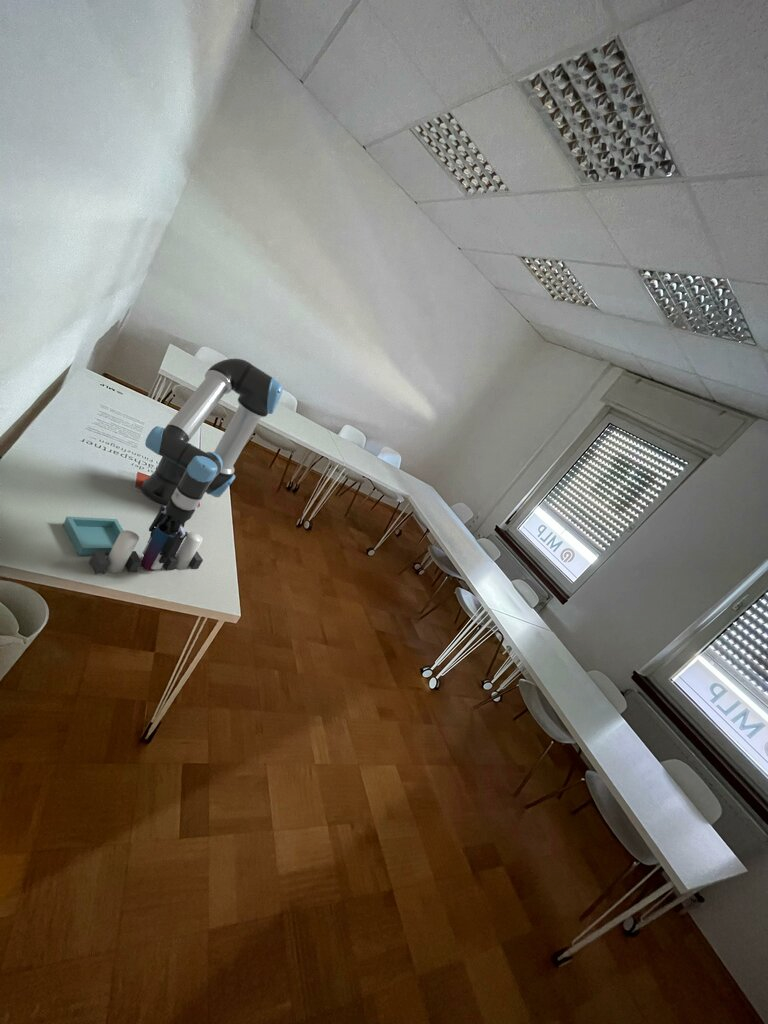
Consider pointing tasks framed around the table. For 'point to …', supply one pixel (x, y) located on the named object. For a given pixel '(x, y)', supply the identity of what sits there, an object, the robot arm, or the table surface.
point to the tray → (92, 534)
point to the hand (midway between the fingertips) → (151, 560)
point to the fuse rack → (130, 559)
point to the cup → (154, 548)
